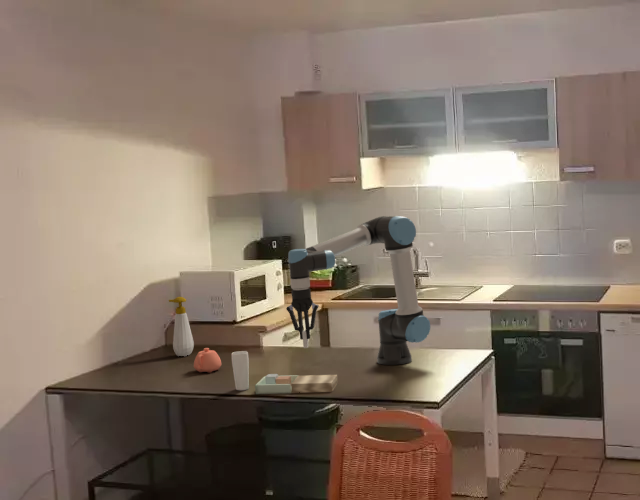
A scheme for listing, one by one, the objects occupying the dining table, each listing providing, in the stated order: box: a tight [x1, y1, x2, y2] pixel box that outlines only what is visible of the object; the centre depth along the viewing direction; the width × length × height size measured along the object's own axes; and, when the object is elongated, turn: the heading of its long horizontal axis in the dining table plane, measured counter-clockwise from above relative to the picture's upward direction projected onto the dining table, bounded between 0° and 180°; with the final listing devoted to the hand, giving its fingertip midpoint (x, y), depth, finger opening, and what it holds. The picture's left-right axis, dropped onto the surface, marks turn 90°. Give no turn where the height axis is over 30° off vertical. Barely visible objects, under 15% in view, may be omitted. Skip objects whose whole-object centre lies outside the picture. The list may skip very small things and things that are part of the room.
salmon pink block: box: [276, 375, 291, 385], centre depth 371 cm, size 5×5×4 cm
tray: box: [254, 374, 299, 395], centre depth 371 cm, size 14×16×4 cm
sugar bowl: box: [193, 347, 222, 374], centre depth 414 cm, size 12×14×10 cm
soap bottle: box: [168, 296, 195, 357], centre depth 454 cm, size 13×10×29 cm
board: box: [291, 374, 339, 394], centre depth 368 cm, size 16×14×4 cm
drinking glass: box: [231, 350, 250, 392], centre depth 374 cm, size 7×7×15 cm
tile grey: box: [265, 373, 279, 384], centre depth 371 cm, size 5×5×4 cm
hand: (306, 347), depth 368 cm, fingers closed
